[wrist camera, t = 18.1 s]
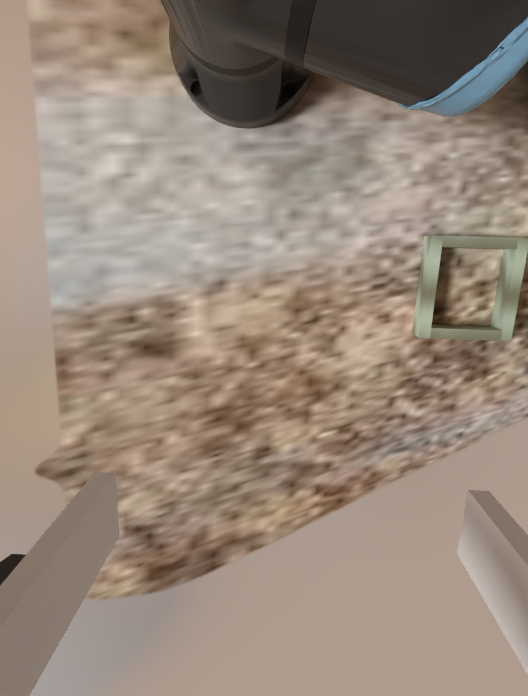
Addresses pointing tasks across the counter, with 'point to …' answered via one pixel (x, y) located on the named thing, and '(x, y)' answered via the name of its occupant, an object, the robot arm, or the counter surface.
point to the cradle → (504, 297)
